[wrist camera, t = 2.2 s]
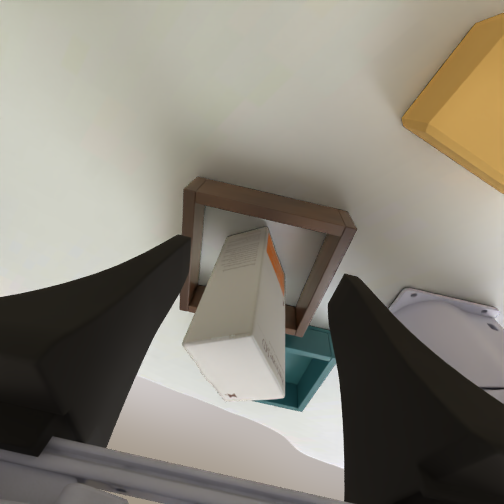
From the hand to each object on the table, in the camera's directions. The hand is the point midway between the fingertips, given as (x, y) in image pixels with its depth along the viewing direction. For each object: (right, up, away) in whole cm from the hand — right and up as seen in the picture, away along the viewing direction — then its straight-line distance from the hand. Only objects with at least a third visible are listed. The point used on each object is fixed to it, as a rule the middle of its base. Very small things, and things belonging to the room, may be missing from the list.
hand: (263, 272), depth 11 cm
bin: (+2, -12, +20) cm, 23 cm away
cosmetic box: (0, +1, +12) cm, 12 cm away
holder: (0, +1, +12) cm, 12 cm away
